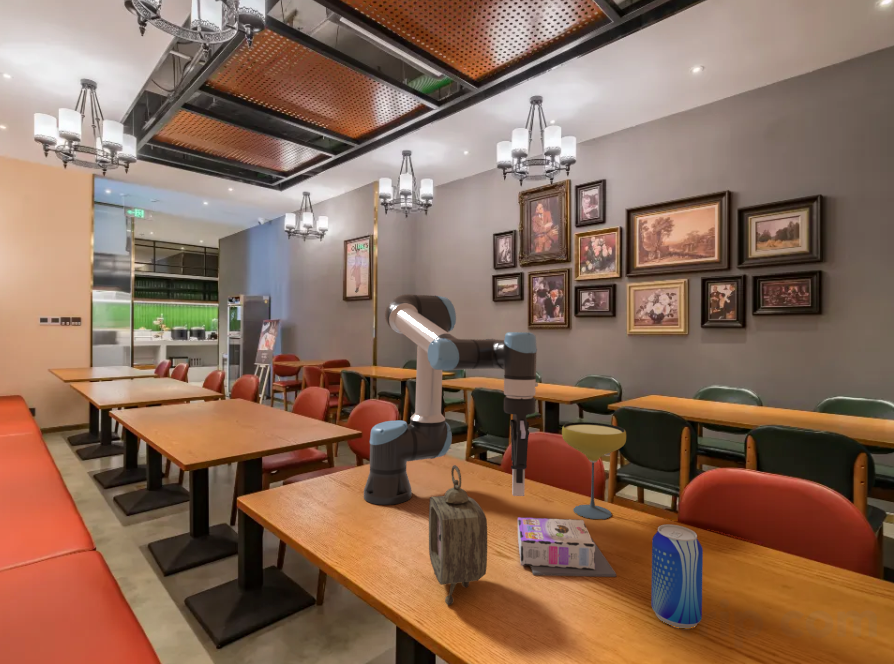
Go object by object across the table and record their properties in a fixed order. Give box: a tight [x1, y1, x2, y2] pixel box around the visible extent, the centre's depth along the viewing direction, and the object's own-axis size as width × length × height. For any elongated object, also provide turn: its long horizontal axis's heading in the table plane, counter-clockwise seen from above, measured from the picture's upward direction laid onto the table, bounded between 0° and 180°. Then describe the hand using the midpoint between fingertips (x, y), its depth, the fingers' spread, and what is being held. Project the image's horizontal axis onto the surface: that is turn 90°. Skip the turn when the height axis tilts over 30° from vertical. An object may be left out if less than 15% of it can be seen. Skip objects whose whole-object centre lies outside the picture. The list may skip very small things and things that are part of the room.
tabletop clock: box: [428, 464, 488, 606], centre depth 94 cm, size 14×9×25 cm, turn 13°
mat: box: [529, 540, 617, 578], centre depth 109 cm, size 20×18×1 cm
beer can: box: [650, 524, 704, 629], centre depth 85 cm, size 8×8×16 cm
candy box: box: [517, 516, 596, 570], centre depth 108 cm, size 14×6×16 cm
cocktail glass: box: [561, 421, 627, 520], centre depth 135 cm, size 18×18×25 cm
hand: (518, 494), depth 109 cm, fingers closed
